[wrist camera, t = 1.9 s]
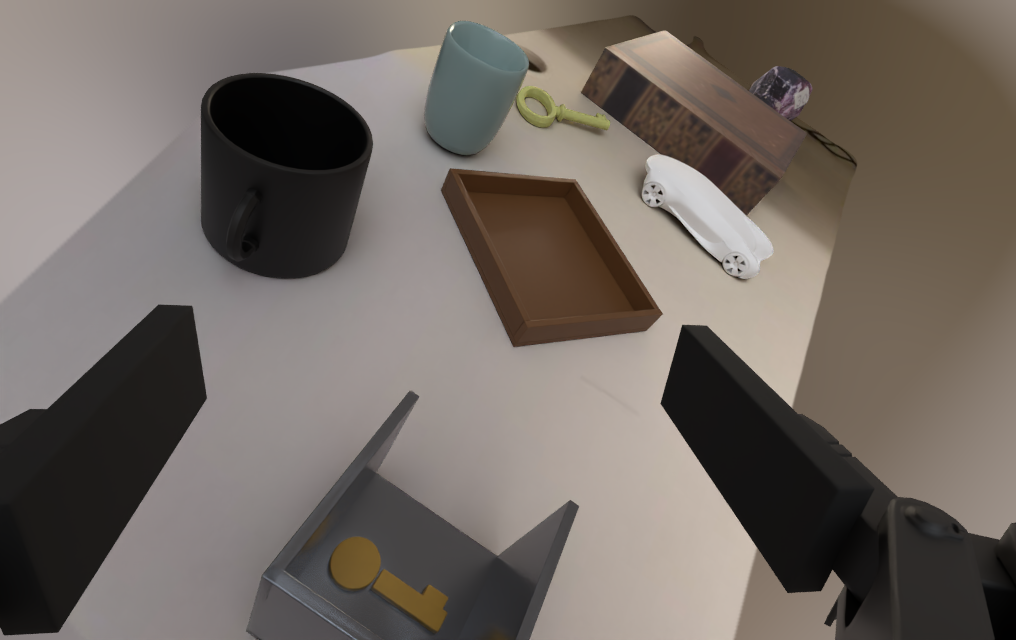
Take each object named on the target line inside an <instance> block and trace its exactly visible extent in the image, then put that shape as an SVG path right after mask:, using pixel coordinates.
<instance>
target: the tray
mask: <svg viewBox="0 0 1016 640" xmlns="http://www.w3.org/2000/svg"><path fill="white" fill-rule="evenodd" d="M441 191H442V193H443V195H444V198H445V200H446V202H447V204H448V206H449V208H450V211H451V213H452V215H453V217H454V219H455V221H456V223H457V226H458V228H459V230H460V232H461V234H462V236H463V239H464V241H465V243H466V245H467V247H468V249H469V251H470V254H471V256H472V258H473V260H474V262H475V264H476V267H477V269H478V271H479V273H480V275H481V277H482V279H483V282H484V284H485V286H486V288H487V290H488V292H489V295H490V297H491V299H492V301H493V303H494V305H495V307H496V310H497V312H498V314H499V316H500V318H501V320H502V323H503V325H504V327H505V329H506V331H507V333H508V336H509V338H510V340H511V342H512V344H513V346H514V347H517V346H525V345H533V344H542V343H550V342H558V341H566V340H575V339H583V338H591V337H599V336H607V335H616V334H624V333H632V332H640V331H647V329H648V328H649V327H651V325H652V324H653V323H654V322H655V321H656V320H657V319H658V318H659V317H660V316H661V315H662V314H663V313H662V312H661V310H660V309H659V308H658V306H657V304H656V303H655V301H654V300H653V298H652V297H651V295H650V294H649V292H648V291H647V289H646V287H645V286H644V284H643V283H642V281H641V280H640V278H639V277H638V275H637V273H636V272H635V270H634V269H633V267H632V266H631V264H630V263H629V261H628V260H627V258H626V256H625V255H624V253H623V252H622V250H621V249H620V247H619V246H618V244H617V243H616V241H615V239H614V238H613V236H612V235H611V233H610V232H609V230H608V229H607V227H606V226H605V224H604V222H603V221H602V219H601V218H600V216H599V215H598V213H597V212H596V210H595V209H594V207H593V205H592V204H591V202H590V201H589V199H588V198H587V196H586V195H585V193H584V192H583V190H582V188H581V187H580V185H579V184H578V182H577V181H576V179H566V178H554V177H543V176H531V175H520V174H508V173H497V172H485V171H474V170H462V169H451V168H450V169H449V172H448V174H447V177H446V179H445V182H444V184H443V187H442V189H441Z"/></svg>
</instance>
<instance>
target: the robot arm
mask: <svg viewBox="0 0 1016 640" xmlns="http://www.w3.org/2000/svg"><path fill="white" fill-rule="evenodd" d="M206 399H207V396H206V389H205V383H204V377H203V371H202V364H201V358H200V352H199V345H198V339H197V333H196V326H195V320H194V314H193V307H192V306H181V305H158V306H157V307H156V308H154V309H153V310H152V311H151V312H150V313H149V314H148V315H147V316H146V317H145V318H144V319H143V320H142V321H141V322H140V323H139V324H137V325H136V326H135V327H134V328H133V329H132V330H131V331H130V332H129V333H128V334H127V335H126V336H125V337H124V338H123V339H121V340H120V341H119V342H118V343H117V344H116V345H115V346H114V347H113V348H112V349H111V350H110V351H109V352H108V353H107V354H105V355H104V356H103V357H102V358H101V359H100V360H99V361H98V362H97V363H96V364H95V365H94V366H93V367H92V368H91V369H90V370H88V371H87V372H86V373H85V374H84V375H83V376H82V377H81V378H80V379H79V380H78V381H77V382H76V383H75V384H74V385H72V386H71V387H70V388H69V389H68V390H67V391H66V392H65V393H64V394H63V395H62V396H61V397H60V398H59V399H58V400H57V401H55V402H54V403H53V404H52V405H51V406H50V407H49V408H48V409H29V410H27V411H25V412H24V413H22V414H20V415H18V416H16V417H14V418H12V419H10V420H8V421H6V422H5V423H3V424H1V425H0V628H1V629H2V632H3V634H4V635H19V634H38V633H57V632H59V630H60V629H61V627H62V626H63V624H64V623H65V621H66V619H67V618H68V616H69V615H70V613H71V612H72V610H73V608H74V607H75V605H76V604H77V602H78V601H79V599H80V597H81V596H82V594H83V593H84V591H85V590H86V588H87V586H88V585H89V583H90V582H91V580H92V578H93V577H94V575H95V574H96V572H97V571H98V569H99V567H100V566H101V564H102V563H103V561H104V560H105V558H106V556H107V555H108V553H109V552H110V550H111V549H112V547H113V545H114V544H115V542H116V541H117V539H118V538H119V536H120V534H121V533H122V531H123V530H124V528H125V527H126V525H127V523H128V522H129V520H130V519H131V517H132V516H133V514H134V512H135V511H136V509H137V508H138V506H139V504H140V503H141V501H142V500H143V498H144V497H145V495H146V493H147V492H148V490H149V489H150V487H151V486H152V484H153V482H154V481H155V479H156V478H157V476H158V475H159V473H160V471H161V470H162V468H163V467H164V465H165V464H166V462H167V460H168V459H169V457H170V456H171V454H172V453H173V451H174V449H175V448H176V446H177V445H178V443H179V442H180V440H181V438H182V437H183V435H184V434H185V432H186V430H187V429H188V427H189V426H190V424H191V423H192V421H193V419H194V418H195V416H196V415H197V413H198V412H199V410H200V408H201V407H202V405H203V404H204V402H205V401H206ZM661 405H662V407H663V408H664V410H665V411H666V412H667V414H668V415H669V417H670V418H671V420H672V421H673V423H674V424H675V426H676V427H677V429H678V430H679V432H680V433H681V435H682V436H683V438H684V439H685V441H686V442H687V444H688V445H689V447H690V448H691V450H692V451H693V453H694V454H695V456H696V457H697V459H698V460H699V462H700V463H701V465H702V466H703V468H704V469H705V471H706V472H707V474H708V475H709V477H710V478H711V480H712V481H713V482H714V484H715V485H716V487H717V488H718V490H719V491H720V493H721V494H722V496H723V497H724V499H725V500H726V502H727V503H728V505H729V506H730V508H731V509H732V511H733V512H734V514H735V515H736V517H737V518H738V520H739V521H740V523H741V524H742V526H743V527H744V529H745V530H746V532H747V533H748V535H749V536H750V538H751V539H752V541H753V542H754V544H755V545H756V547H757V548H758V549H759V551H760V552H761V554H762V555H763V557H764V558H765V560H766V561H767V563H768V564H769V566H770V567H771V569H772V570H773V571H774V573H775V575H776V576H777V577H778V579H779V581H780V582H781V583H782V585H783V587H784V588H785V590H786V591H787V593H795V592H814V591H821V590H822V588H823V587H824V585H825V583H826V581H827V579H828V577H829V575H830V573H831V571H832V569H833V570H834V572H835V573H836V574H837V576H838V577H839V578H840V579H841V581H842V582H843V583H844V584H845V585H844V587H843V589H842V591H841V593H840V595H839V596H838V598H837V600H836V602H835V604H834V606H833V607H832V609H831V611H830V613H829V615H828V616H827V619H826V621H825V623H824V624H826V625H828V626H831V625H832V623H833V621H834V620H835V619H837V621H836V636H835V640H1016V523H1012V524H1011V525H1010V526H1009V527H1008V529H1007V530H1006V532H1005V533H1004V535H1003V536H1002V538H1001V539H1000V540H998V539H993V538H989V537H984V536H979V535H975V534H971V533H968V532H967V530H966V529H965V528H964V527H963V526H962V525H961V524H960V523H959V522H958V521H957V520H956V519H954V518H953V517H951V516H950V515H948V514H947V513H945V512H944V511H942V510H941V509H939V508H936V507H935V506H932V505H930V504H928V503H926V502H923V501H919V500H916V499H913V498H903V497H897V496H896V495H895V494H894V493H893V492H892V491H891V490H890V489H889V488H887V486H886V485H884V484H883V483H882V482H881V481H880V480H879V479H878V478H877V477H876V476H875V475H874V474H873V473H872V472H871V471H870V470H868V469H867V468H866V467H865V466H864V465H863V464H862V463H861V462H860V461H859V460H858V459H857V458H856V457H852V454H851V453H850V452H849V451H848V450H847V449H846V448H845V447H844V446H843V445H839V441H838V440H837V439H835V438H834V437H833V436H832V435H831V434H830V433H829V432H828V431H827V430H826V429H825V428H824V427H822V426H821V425H819V424H817V423H816V422H814V421H813V420H811V419H809V418H808V417H806V416H804V415H803V414H797V413H796V412H795V411H794V410H793V409H792V408H791V407H790V406H789V405H788V404H787V403H786V402H785V401H784V400H783V399H782V398H781V397H780V396H779V395H778V394H777V393H776V392H775V391H774V390H773V389H772V388H770V387H769V386H768V385H767V384H766V383H765V382H764V381H763V380H762V379H761V378H760V377H759V376H758V375H757V374H756V373H755V372H754V371H753V370H752V369H751V368H750V367H749V366H748V365H747V364H746V363H745V362H744V361H743V360H742V359H741V358H739V357H738V356H737V355H736V354H735V353H734V352H733V351H732V350H731V349H730V348H729V347H728V346H727V345H726V344H725V343H724V342H723V341H722V340H721V339H720V338H719V337H718V336H717V335H716V334H715V333H714V332H713V331H712V330H711V329H710V328H708V327H707V326H700V325H682V328H681V332H680V335H679V339H678V342H677V346H676V350H675V353H674V357H673V361H672V364H671V368H670V371H669V375H668V379H667V382H666V386H665V390H664V393H663V397H662V400H661Z"/></svg>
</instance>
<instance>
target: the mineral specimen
mask: <svg viewBox="0 0 1016 640" xmlns="http://www.w3.org/2000/svg"><path fill="white" fill-rule="evenodd" d="M811 91H812V86H811V84H810V83H809V82H808V81H807V80H806V79H805V78H803V77H802V76H801V75H800V74H798V73H797V72H796V71H794V70H792V69H789V68H786V67H780V66H776V67H774V68H772V69H771V70H770V71H768V72H767V73H766V74H764V75H763V76H762V77H761V78H759V79H758V80H757V81H755V82H754V83H753V85H752V87H751V88H750V90H749V92H751V93H752V94H753V95H755V96H756V97H758V98H759V99H760V100H762V101H763V102H764V103H766V104H767V105H769V106H770V107H771V108H773V109H774V110H775V111H777V112H778V113H780V114H781V115H782V116H784V117H785V118H787V119H788V120H789V121H791V120H792V119H794V118H795V117H797V116H798V115H799V114H800V112H801V110H802V109H803V107H804V105H805V104H806V103H807V102H808V99H809V95H810V93H811Z"/></svg>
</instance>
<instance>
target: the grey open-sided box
mask: <svg viewBox="0 0 1016 640" xmlns="http://www.w3.org/2000/svg"><path fill="white" fill-rule="evenodd" d="M418 398H419V396H418V395H417V394H415V393H414V392H412V391H409V392H408V394H407V395H406V396H405V397H404V399H403V400H402V401H401V402H400V404H399V405H398V406H397V407H396V409H395V410H394V411H393V412H392V414H391V415H390V416H389V417H388V419H387V420H386V421H385V422H384V424H383V425H382V426H381V427H380V429H379V430H378V431H377V432H376V433H375V435H374V436H373V437H372V438H371V440H370V441H369V442H368V443H367V445H366V446H365V447H364V448H363V450H362V451H361V452H360V453H359V455H358V456H357V457H356V458H355V460H354V461H353V462H352V463H351V465H350V466H349V467H348V468H347V470H346V471H345V472H344V473H343V475H342V476H341V477H340V478H339V480H338V481H337V482H336V483H335V485H334V486H333V487H332V488H331V490H330V491H329V492H328V493H327V495H326V496H325V497H324V498H323V500H322V501H321V502H320V503H319V505H318V506H317V507H316V508H315V510H314V511H313V512H312V513H311V515H310V516H309V517H308V518H307V520H306V521H305V522H304V523H303V525H302V526H301V527H300V528H299V530H298V531H297V532H296V533H295V535H294V536H293V537H292V538H291V540H290V541H289V542H288V543H287V545H286V546H285V547H284V548H283V550H282V551H281V552H280V553H279V555H278V556H277V557H276V558H275V560H274V561H273V562H272V563H271V565H270V566H269V567H268V568H267V570H266V571H265V572H264V573H263V574H262V577H261V581H260V584H259V588H258V591H257V595H256V598H255V602H254V605H253V609H252V612H251V616H250V619H249V622H248V626H247V629H246V632H248V633H249V634H251V635H252V636H254V637H255V638H256V639H258V640H529V639H530V636H531V634H532V631H533V628H534V626H535V623H536V620H537V618H538V615H539V612H540V609H541V607H542V604H543V601H544V599H545V596H546V593H547V591H548V588H549V585H550V583H551V580H552V577H553V575H554V572H555V569H556V567H557V564H558V561H559V559H560V556H561V553H562V551H563V548H564V545H565V543H566V540H567V537H568V535H569V532H570V529H571V527H572V524H573V521H574V518H575V516H576V513H577V510H578V508H579V506H578V505H577V504H575V503H574V502H572V501H571V500H570V501H568V502H567V503H566V504H564V505H563V506H562V507H561V508H559V509H558V510H557V511H555V512H554V513H553V514H551V515H550V516H549V517H548V518H546V519H545V520H544V521H542V522H541V523H540V524H539V525H537V526H536V527H535V528H533V529H532V530H531V531H529V532H528V533H527V534H526V535H524V536H523V537H522V538H520V539H519V540H518V541H516V542H515V543H514V544H513V545H511V546H510V547H509V548H507V549H506V550H505V551H503V552H502V553H501V554H500V555H498V556H496V555H495V554H493V553H492V552H490V551H489V550H487V549H486V548H484V547H483V546H482V545H480V544H479V543H477V542H476V541H474V540H473V539H471V538H470V537H469V536H467V535H466V534H464V533H463V532H461V531H460V530H458V529H457V528H455V527H454V526H453V525H451V524H450V523H448V522H447V521H445V520H444V519H442V518H441V517H439V516H438V515H437V514H435V513H434V512H432V511H431V510H429V509H428V508H426V507H425V506H424V505H422V504H421V503H419V502H418V501H416V500H415V499H413V498H412V497H410V496H409V495H408V494H406V493H405V492H403V491H402V490H400V489H399V488H397V487H396V486H394V485H393V484H392V483H390V482H389V481H387V480H386V479H384V478H383V477H381V476H380V475H379V474H377V471H378V469H379V468H380V466H381V464H382V462H383V461H384V459H385V457H386V455H387V453H388V452H389V450H390V448H391V446H392V444H393V443H394V441H395V439H396V437H397V436H398V434H399V432H400V430H401V428H402V427H403V425H404V423H405V421H406V420H407V418H408V416H409V414H410V412H411V411H412V409H413V407H414V405H415V403H416V402H417V400H418ZM351 537H363V538H366V539H368V540H370V541H371V542H372V543H373V544H374V545H375V546H376V547H377V549H378V551H379V554H380V559H381V564H380V569H379V572H378V574H377V576H376V578H375V579H374V580H373V581H372V582H371V584H369V585H368V586H367V587H365V588H364V589H362V590H359V591H346V590H343V589H341V588H339V587H338V586H337V585H336V584H335V583H334V582H333V581H332V579H331V577H330V574H329V560H330V557H331V555H332V553H333V551H334V550H335V548H336V547H337V546H338V545H339V544H340V543H341V542H342V541H344V540H346V539H348V538H351ZM383 569H385V570H387V571H388V572H390V573H391V574H393V575H394V576H396V577H397V578H398V579H400V580H401V581H403V582H404V583H406V584H407V585H409V586H410V587H411V588H413V589H414V590H416V591H417V592H419V593H420V594H422V593H423V591H424V590H425V588H426V587H427V586H428V585H431V586H433V587H434V588H435V589H437V590H438V591H440V592H441V593H443V594H444V595H446V596H447V597H448V600H447V602H446V604H445V606H444V608H443V610H445V611H446V612H447V616H446V618H445V620H444V622H443V624H442V626H441V628H440V630H439V632H437V633H436V634H434V633H433V632H431V631H430V630H428V629H427V628H425V627H424V626H422V625H421V624H420V623H418V622H417V621H415V620H414V619H412V618H411V617H409V616H408V615H407V614H405V613H404V612H402V611H401V610H399V609H398V608H396V607H395V606H394V605H392V604H391V603H389V602H388V601H386V600H385V599H383V598H382V597H381V596H379V595H378V594H376V593H375V592H373V591H372V590H371V587H372V586H373V584H374V582H375V581H376V579H377V578H378V576H379V575H380V573H381V571H382V570H383Z"/></svg>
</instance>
